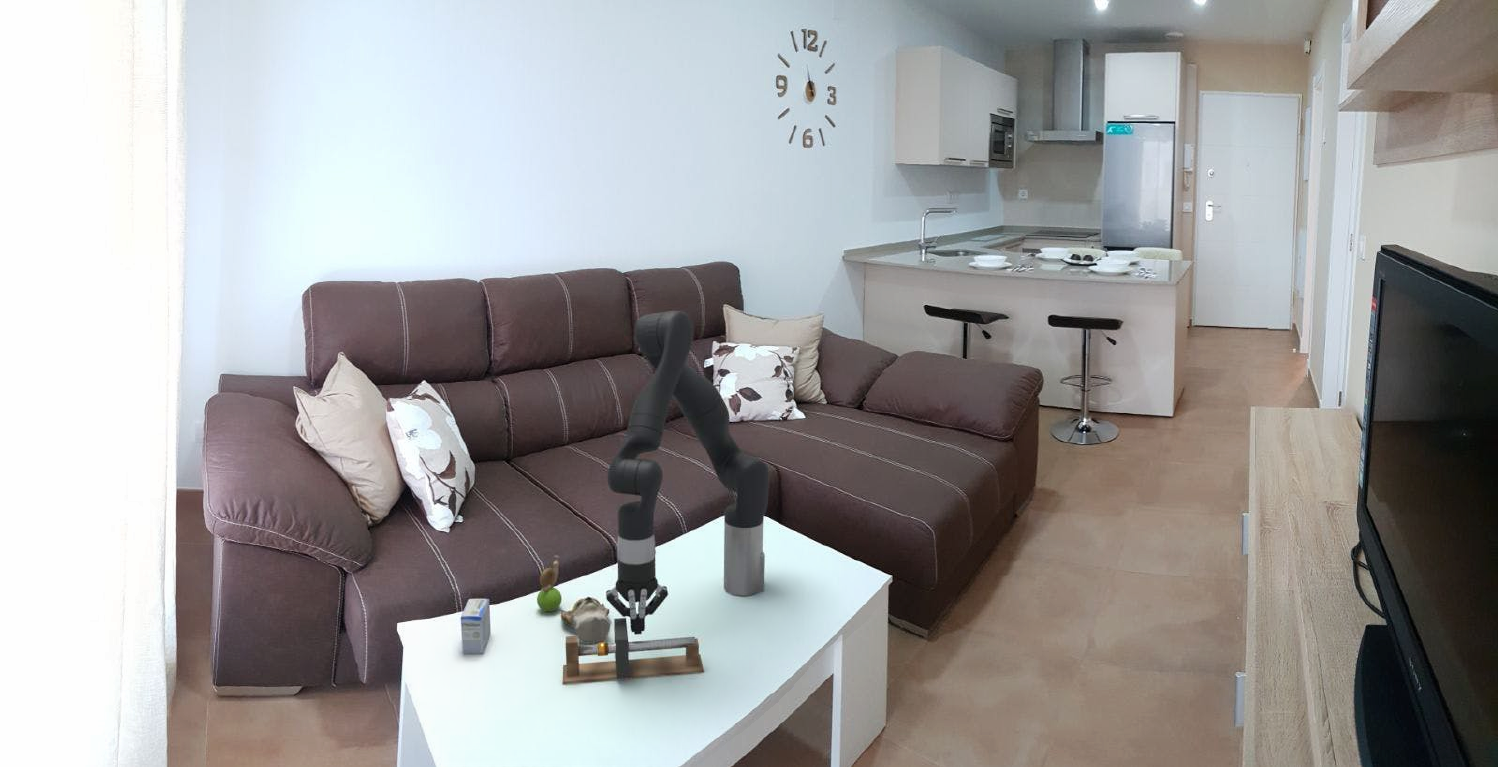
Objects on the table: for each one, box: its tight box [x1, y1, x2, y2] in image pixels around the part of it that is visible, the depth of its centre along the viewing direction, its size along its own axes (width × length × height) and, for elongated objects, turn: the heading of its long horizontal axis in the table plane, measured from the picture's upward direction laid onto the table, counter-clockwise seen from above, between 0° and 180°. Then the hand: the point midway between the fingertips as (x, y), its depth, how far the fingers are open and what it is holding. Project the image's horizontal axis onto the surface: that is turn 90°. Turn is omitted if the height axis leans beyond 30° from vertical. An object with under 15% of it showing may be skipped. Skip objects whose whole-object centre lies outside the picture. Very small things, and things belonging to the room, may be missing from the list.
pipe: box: [578, 636, 696, 657], centre depth 188 cm, size 25×3×3 cm, turn 100°
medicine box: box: [460, 598, 491, 655], centre depth 197 cm, size 8×4×9 cm, turn 5°
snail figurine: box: [536, 555, 562, 612], centre depth 212 cm, size 5×6×12 cm
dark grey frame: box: [613, 617, 630, 678], centre depth 188 cm, size 2×8×8 cm, turn 10°
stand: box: [562, 635, 705, 685], centre depth 189 cm, size 28×6×8 cm, turn 100°
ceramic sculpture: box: [560, 596, 611, 645], centre depth 203 cm, size 11×9×15 cm
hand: (637, 632), depth 191 cm, fingers closed
